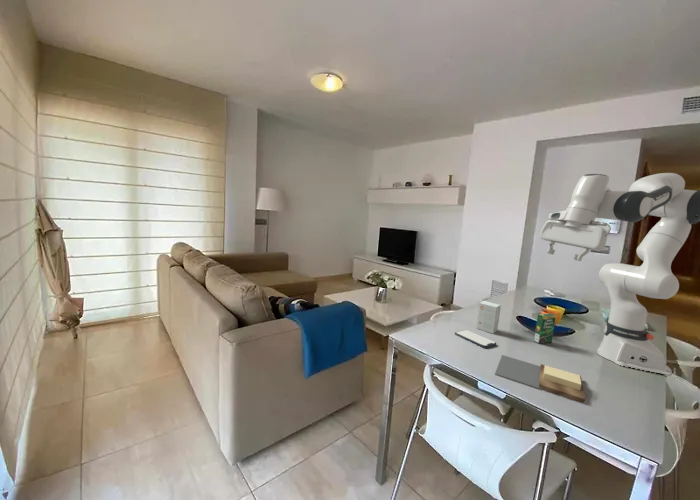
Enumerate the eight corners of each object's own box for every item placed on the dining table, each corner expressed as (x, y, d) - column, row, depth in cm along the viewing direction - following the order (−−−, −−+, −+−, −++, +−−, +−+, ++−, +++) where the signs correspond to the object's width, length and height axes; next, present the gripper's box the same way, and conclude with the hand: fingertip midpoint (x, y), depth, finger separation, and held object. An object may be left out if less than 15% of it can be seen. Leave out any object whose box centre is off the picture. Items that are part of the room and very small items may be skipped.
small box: (497, 330, 147) (501, 304, 145) (493, 334, 143) (497, 307, 141) (480, 325, 153) (484, 300, 151) (475, 328, 148) (479, 302, 146)
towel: (637, 321, 183) (639, 312, 182) (647, 331, 165) (649, 322, 165) (599, 313, 193) (600, 305, 192) (604, 322, 175) (606, 314, 174)
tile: (578, 380, 103) (579, 375, 103) (580, 390, 97) (581, 384, 97) (543, 370, 108) (544, 365, 108) (543, 378, 103) (544, 373, 102)
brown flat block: (580, 379, 107) (581, 375, 107) (584, 403, 93) (585, 399, 92) (540, 367, 113) (540, 364, 113) (538, 388, 99) (539, 384, 99)
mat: (543, 368, 113) (543, 367, 113) (542, 390, 98) (542, 389, 98) (501, 355, 121) (502, 354, 121) (494, 374, 106) (495, 373, 106)
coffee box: (538, 344, 135) (543, 315, 133) (532, 341, 138) (537, 313, 136) (552, 343, 138) (557, 315, 136) (546, 340, 140) (551, 313, 139)
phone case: (453, 335, 139) (484, 350, 126) (453, 332, 139) (484, 346, 125) (465, 332, 144) (497, 346, 130) (466, 329, 144) (497, 342, 130)
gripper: (617, 226, 98) (600, 266, 99) (554, 218, 116) (541, 252, 118) (607, 220, 95) (590, 262, 97) (545, 213, 114) (531, 248, 115)
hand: (563, 256), depth 107 cm, fingers open, 8 cm apart
